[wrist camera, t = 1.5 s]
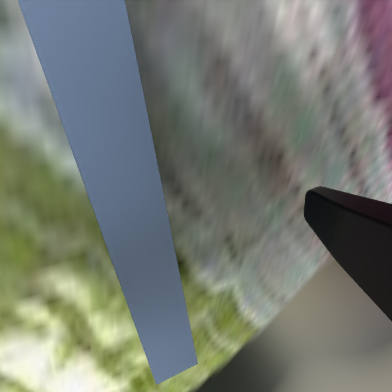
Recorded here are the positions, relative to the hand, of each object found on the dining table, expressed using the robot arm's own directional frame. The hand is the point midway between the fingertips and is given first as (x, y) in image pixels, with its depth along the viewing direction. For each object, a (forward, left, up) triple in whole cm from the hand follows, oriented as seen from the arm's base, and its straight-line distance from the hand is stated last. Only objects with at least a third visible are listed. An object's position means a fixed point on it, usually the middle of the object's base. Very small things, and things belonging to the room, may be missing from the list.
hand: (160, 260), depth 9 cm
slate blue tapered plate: (0, 0, -12) cm, 12 cm away
